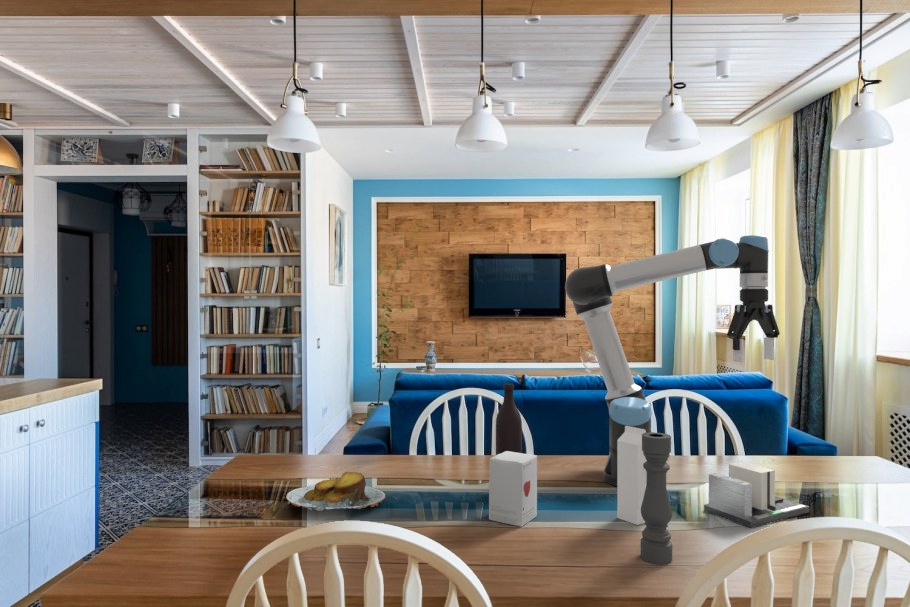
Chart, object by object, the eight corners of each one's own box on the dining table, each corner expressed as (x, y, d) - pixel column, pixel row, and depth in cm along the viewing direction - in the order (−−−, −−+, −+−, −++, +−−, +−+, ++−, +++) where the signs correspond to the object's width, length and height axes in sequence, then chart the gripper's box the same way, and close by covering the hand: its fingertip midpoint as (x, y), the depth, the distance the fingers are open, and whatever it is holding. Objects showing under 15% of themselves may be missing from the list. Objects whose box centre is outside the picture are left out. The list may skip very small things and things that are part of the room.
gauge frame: (750, 528, 141) (750, 486, 141) (703, 510, 152) (703, 472, 152) (809, 512, 151) (809, 474, 151) (761, 497, 162) (761, 461, 162)
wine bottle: (527, 494, 165) (527, 383, 165) (511, 501, 160) (511, 386, 160) (506, 489, 170) (506, 381, 170) (490, 495, 165) (490, 384, 165)
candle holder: (673, 554, 126) (673, 433, 126) (670, 566, 120) (670, 440, 120) (642, 549, 129) (642, 431, 128) (638, 561, 123) (638, 437, 123)
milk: (637, 525, 143) (637, 431, 142) (616, 518, 147) (616, 427, 147) (653, 519, 146) (653, 427, 146) (632, 512, 151) (632, 423, 151)
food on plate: (274, 499, 163) (274, 474, 163) (361, 484, 176) (361, 461, 176) (305, 528, 141) (305, 500, 141) (401, 509, 155) (401, 483, 155)
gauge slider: (768, 512, 144) (768, 474, 144) (728, 499, 154) (728, 464, 154) (781, 509, 146) (781, 472, 146) (742, 496, 156) (742, 461, 156)
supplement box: (522, 527, 141) (522, 463, 141) (488, 520, 146) (487, 457, 146) (538, 516, 149) (538, 454, 149) (505, 509, 154) (505, 450, 154)
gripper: (736, 287, 171) (736, 363, 171) (792, 288, 182) (792, 359, 182) (713, 288, 177) (713, 361, 177) (769, 288, 189) (769, 357, 189)
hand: (753, 360), depth 180 cm, fingers open, 13 cm apart
